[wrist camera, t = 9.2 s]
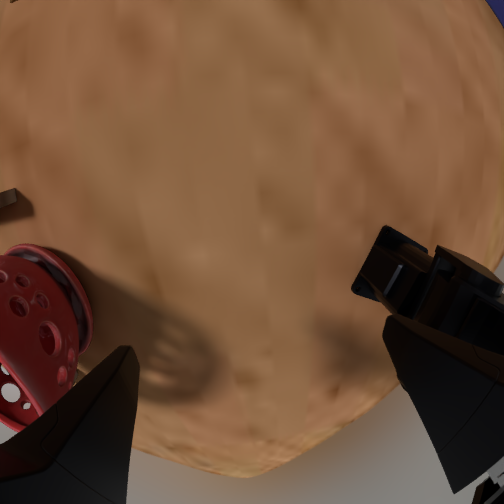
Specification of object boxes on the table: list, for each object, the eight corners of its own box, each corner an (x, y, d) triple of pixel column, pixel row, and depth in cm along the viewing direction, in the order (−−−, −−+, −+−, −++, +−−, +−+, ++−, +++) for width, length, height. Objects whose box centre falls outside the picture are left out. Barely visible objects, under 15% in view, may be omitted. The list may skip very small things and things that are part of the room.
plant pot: (92, 229, 18) (-5, 314, 7) (113, 358, 22) (81, 460, 11) (-10, 225, 16) (-93, 278, 5) (19, 337, 20) (-28, 409, 9)
